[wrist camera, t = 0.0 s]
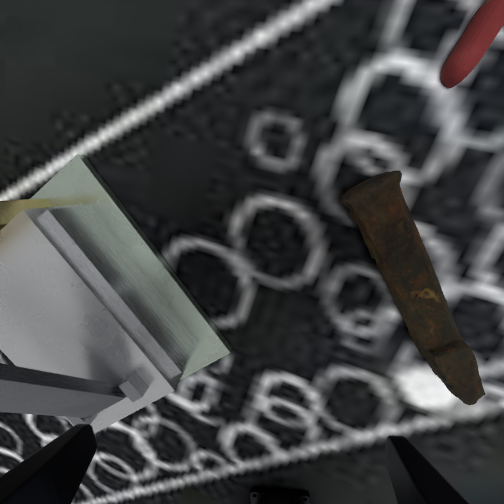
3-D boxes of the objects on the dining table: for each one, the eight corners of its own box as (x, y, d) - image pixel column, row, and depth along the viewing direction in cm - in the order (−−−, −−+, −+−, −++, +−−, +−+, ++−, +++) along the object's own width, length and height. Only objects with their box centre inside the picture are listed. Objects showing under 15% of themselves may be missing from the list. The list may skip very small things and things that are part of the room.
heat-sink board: (231, 347, 24) (204, 439, 15) (121, 407, 27) (48, 510, 19) (84, 155, 21) (-56, 133, 12) (-18, 251, 24) (-185, 288, 16)
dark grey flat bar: (130, 386, 19) (129, 398, 18) (94, 407, 20) (92, 418, 19) (-186, 329, 10) (-208, 349, 9) (-225, 372, 10) (-247, 393, 10)
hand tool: (332, 192, 20) (346, 195, 15) (383, 168, 19) (415, 163, 14) (411, 382, 23) (441, 429, 19) (457, 369, 22) (501, 415, 18)
